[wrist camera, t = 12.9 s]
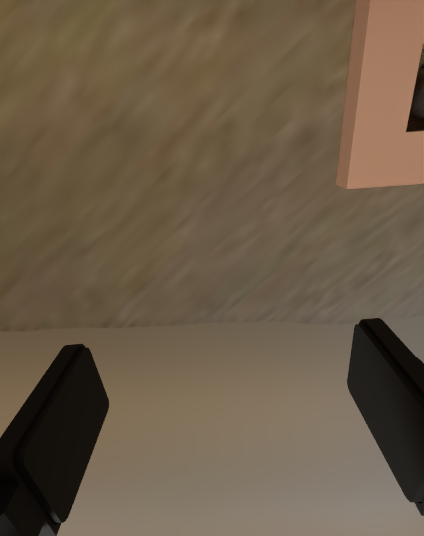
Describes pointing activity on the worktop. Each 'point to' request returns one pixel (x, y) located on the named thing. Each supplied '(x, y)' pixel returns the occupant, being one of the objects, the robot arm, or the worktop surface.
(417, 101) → the piston
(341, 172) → the pink square holed slab
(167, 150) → the worktop surface
